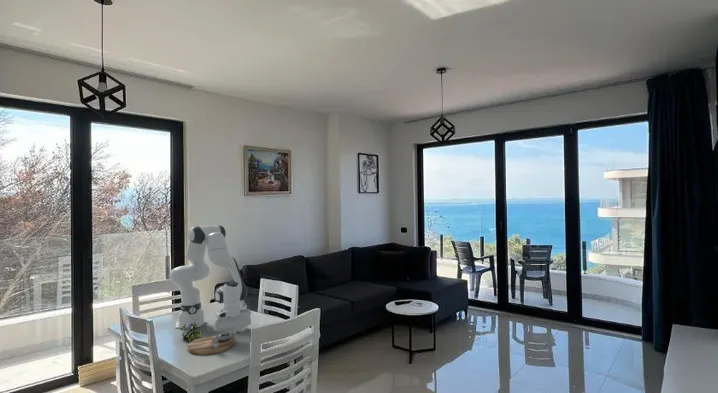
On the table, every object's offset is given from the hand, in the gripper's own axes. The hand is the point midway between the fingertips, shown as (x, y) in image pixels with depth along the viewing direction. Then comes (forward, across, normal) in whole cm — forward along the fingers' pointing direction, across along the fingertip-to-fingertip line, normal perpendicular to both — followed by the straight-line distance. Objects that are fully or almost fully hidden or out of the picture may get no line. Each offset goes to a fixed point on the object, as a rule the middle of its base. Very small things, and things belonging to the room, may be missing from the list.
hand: (232, 335), depth 226 cm
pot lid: (+1, +6, 0) cm, 6 cm away
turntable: (+3, +12, 0) cm, 12 cm away
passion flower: (+4, +18, -20) cm, 28 cm away
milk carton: (+4, -8, -19) cm, 21 cm away
